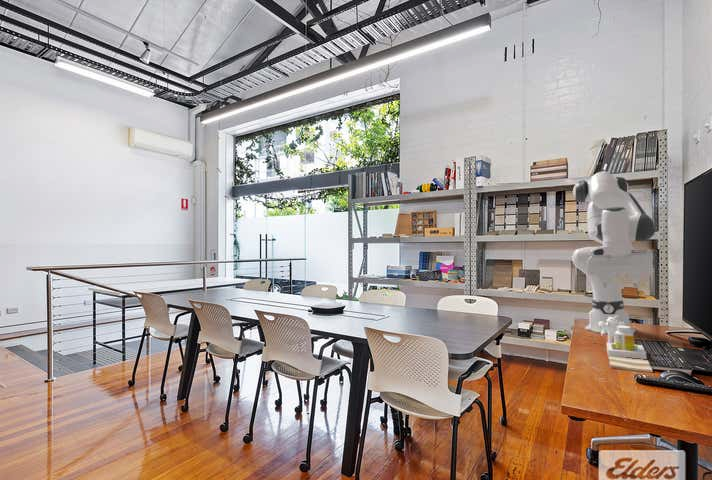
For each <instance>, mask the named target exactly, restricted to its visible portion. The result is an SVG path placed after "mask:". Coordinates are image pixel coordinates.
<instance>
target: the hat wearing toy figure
mask: <svg viewBox="0 0 712 480" xmlns="http://www.w3.org/2000/svg"><path fill="white" fill-rule="evenodd" d="M617 316H619V315H616V316H614V318H613V317H609V318H608V319H607V323H606V324H605V322H604V321H600V323H599V325H600V326H601V327H602V326H604V327H602V328H603V329H602V332H601V333H600V336H602V337H603V336H604V335H606V333H605V330H606V331H607V332H608V334H607V343H616V340H615V332H616V331H617V326H625V324H624V322H621V321H620V322H619V324H617V322H618V321H617V320H616V319H615V318H616V317H617ZM600 326H599V327H600Z"/></svg>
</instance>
